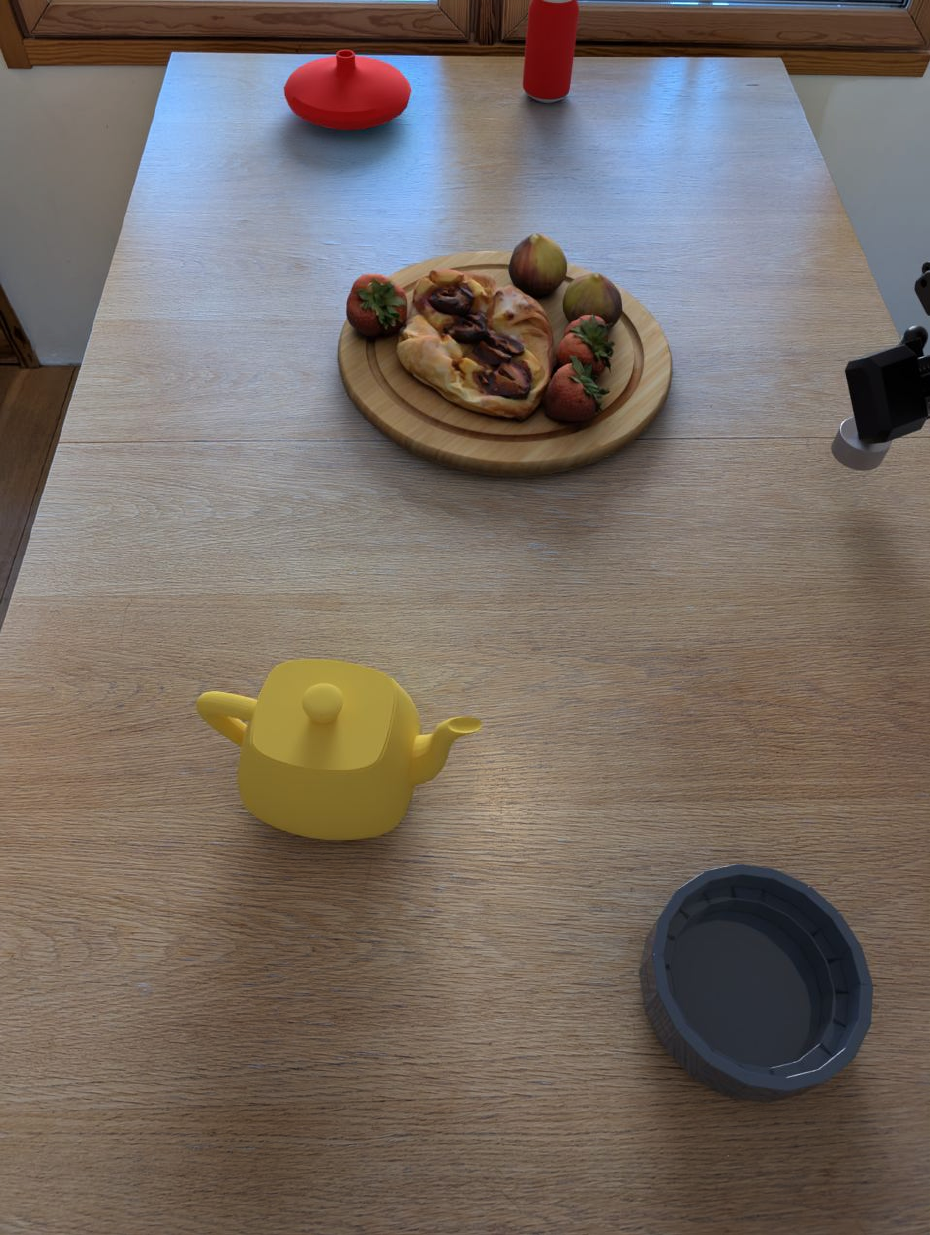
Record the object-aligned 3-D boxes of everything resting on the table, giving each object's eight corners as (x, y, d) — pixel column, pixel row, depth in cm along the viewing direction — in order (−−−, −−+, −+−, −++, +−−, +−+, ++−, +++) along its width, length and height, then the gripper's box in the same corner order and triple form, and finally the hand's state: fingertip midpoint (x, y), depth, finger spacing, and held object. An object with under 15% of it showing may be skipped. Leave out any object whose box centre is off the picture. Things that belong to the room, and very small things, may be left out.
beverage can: (573, 106, 122) (586, 2, 112) (526, 107, 121) (535, 3, 111) (563, 83, 125) (575, -19, 115) (518, 84, 124) (526, -18, 115)
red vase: (392, 154, 113) (390, 93, 107) (268, 134, 115) (260, 73, 109) (425, 94, 122) (425, 35, 116) (310, 76, 124) (304, 17, 118)
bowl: (848, 925, 60) (878, 899, 56) (833, 1137, 53) (865, 1125, 49) (658, 866, 62) (674, 837, 58) (618, 1063, 55) (633, 1046, 51)
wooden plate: (274, 413, 86) (261, 338, 79) (428, 237, 103) (428, 163, 96) (602, 531, 79) (618, 461, 72) (708, 321, 96) (729, 248, 89)
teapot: (485, 729, 67) (494, 646, 59) (463, 877, 61) (469, 807, 52) (241, 694, 68) (214, 607, 60) (194, 836, 62) (156, 761, 53)
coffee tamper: (883, 442, 82) (950, 317, 72) (881, 476, 80) (950, 351, 69) (833, 430, 83) (891, 304, 73) (829, 463, 81) (889, 338, 70)
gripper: (1130, 198, 63) (942, 257, 78) (921, 262, 58) (761, 313, 73) (1153, 361, 66) (966, 389, 80) (954, 438, 60) (793, 453, 75)
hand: (875, 383), depth 77 cm, fingers closed on coffee tamper, 2 cm apart
